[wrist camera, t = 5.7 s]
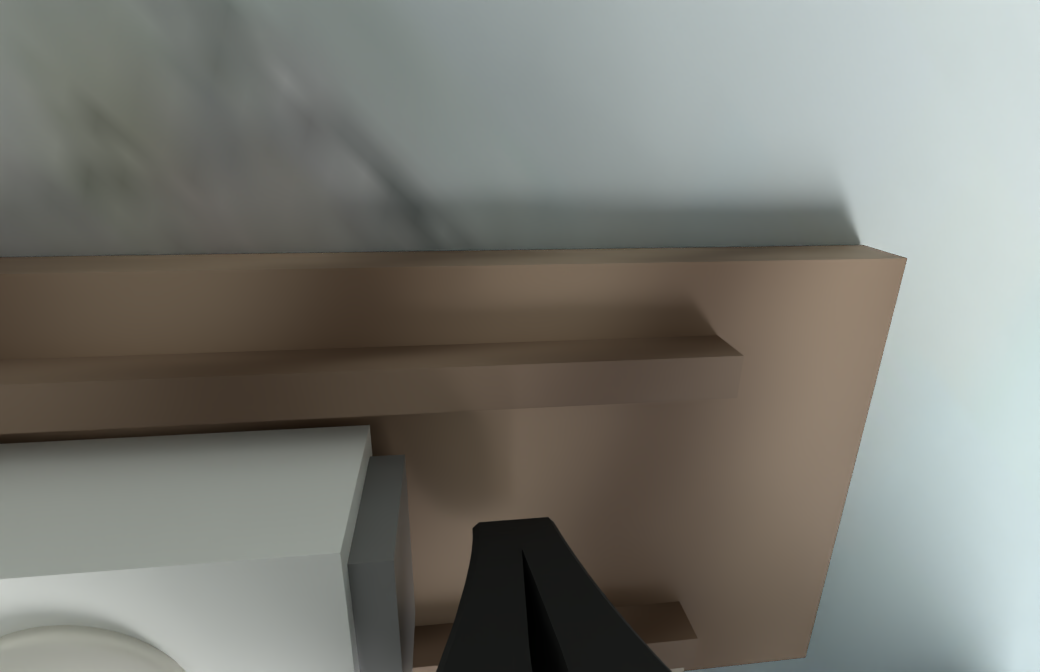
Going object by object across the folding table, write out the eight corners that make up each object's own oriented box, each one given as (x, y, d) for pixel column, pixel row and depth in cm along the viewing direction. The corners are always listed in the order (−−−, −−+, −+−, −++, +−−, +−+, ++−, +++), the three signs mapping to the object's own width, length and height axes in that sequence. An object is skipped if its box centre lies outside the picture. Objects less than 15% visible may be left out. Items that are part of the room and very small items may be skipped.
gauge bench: (862, 245, 12) (1243, 359, 6) (778, 618, 15) (973, 905, 10) (-350, 261, 9) (-1596, 486, 4) (-114, 708, 13) (-552, 1173, 7)
